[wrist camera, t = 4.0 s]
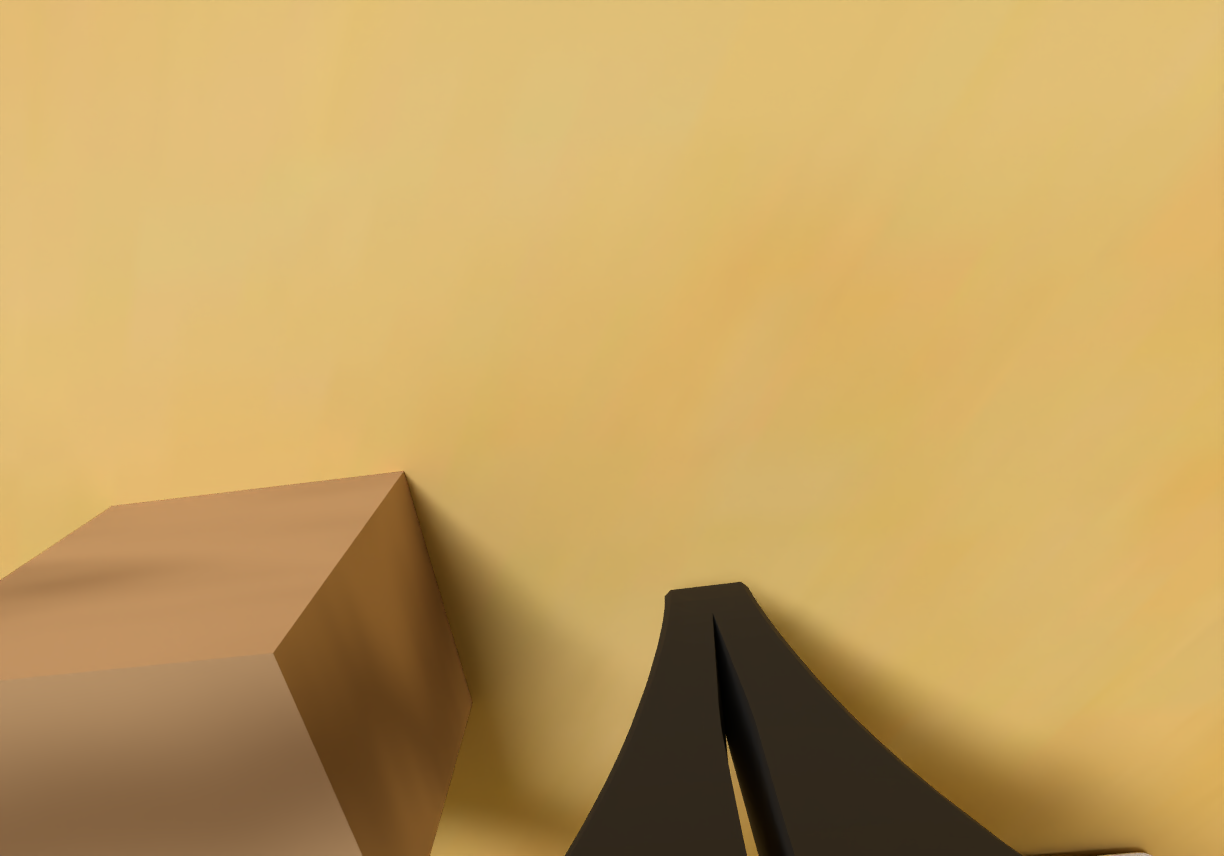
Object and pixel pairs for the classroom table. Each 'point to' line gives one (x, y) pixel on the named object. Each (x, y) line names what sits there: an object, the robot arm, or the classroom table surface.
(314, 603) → the walnut block
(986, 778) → the classroom table surface
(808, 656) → the classroom table surface
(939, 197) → the classroom table surface
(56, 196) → the classroom table surface
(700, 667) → the robot arm
